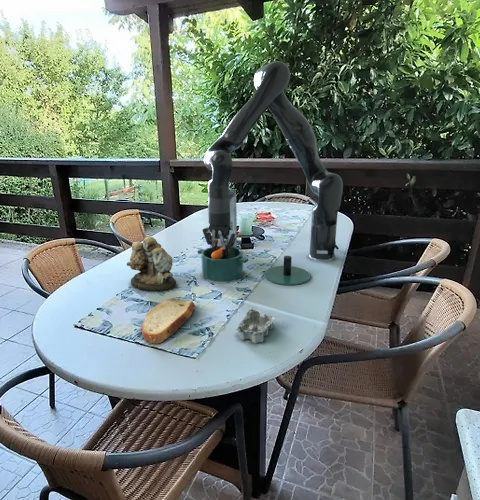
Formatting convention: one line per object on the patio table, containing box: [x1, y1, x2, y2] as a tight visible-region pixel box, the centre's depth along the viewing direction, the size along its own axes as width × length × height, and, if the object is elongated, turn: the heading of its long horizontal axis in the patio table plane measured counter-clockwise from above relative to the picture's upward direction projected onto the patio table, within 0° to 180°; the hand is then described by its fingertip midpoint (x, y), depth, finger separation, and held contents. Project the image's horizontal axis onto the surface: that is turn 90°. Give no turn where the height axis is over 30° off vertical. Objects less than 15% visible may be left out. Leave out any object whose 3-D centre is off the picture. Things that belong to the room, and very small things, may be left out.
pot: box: [197, 246, 249, 283], centre depth 131 cm, size 15×20×8 cm
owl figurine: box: [126, 235, 177, 293], centre depth 125 cm, size 18×12×17 cm, turn 69°
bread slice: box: [141, 298, 196, 345], centre depth 103 cm, size 18×18×4 cm
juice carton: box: [217, 187, 238, 247], centre depth 155 cm, size 9×10×27 cm
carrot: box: [211, 248, 230, 259], centre depth 130 cm, size 11×3×3 cm, turn 145°
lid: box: [264, 255, 311, 287], centre depth 127 cm, size 16×16×8 cm
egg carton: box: [235, 307, 275, 344], centre depth 96 cm, size 11×8×4 cm
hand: (220, 257), depth 130 cm, fingers closed on carrot, 3 cm apart
